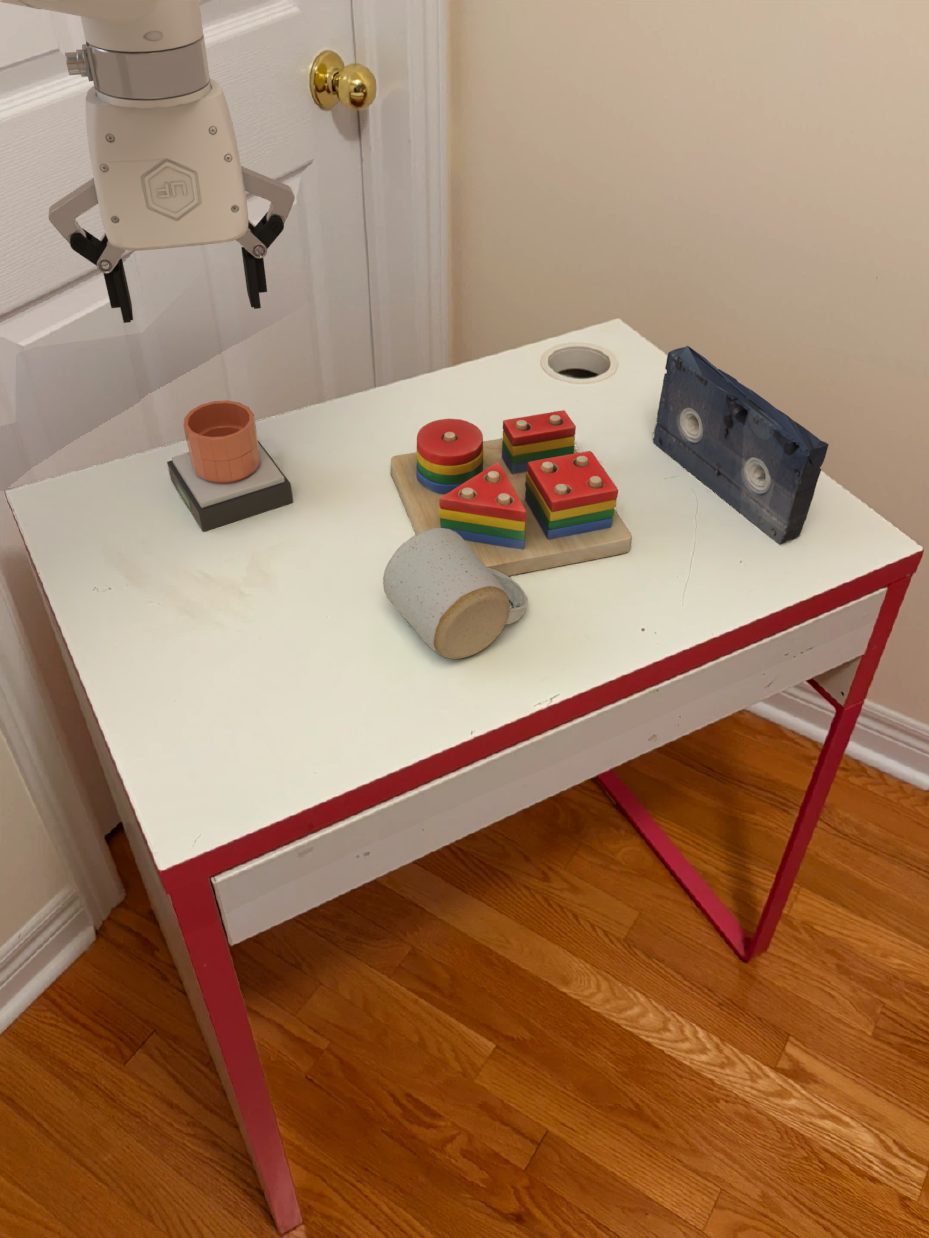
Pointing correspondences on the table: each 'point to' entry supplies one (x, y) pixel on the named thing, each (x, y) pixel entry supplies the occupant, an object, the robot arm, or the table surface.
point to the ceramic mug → (450, 593)
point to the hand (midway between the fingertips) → (191, 307)
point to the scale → (230, 492)
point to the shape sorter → (513, 493)
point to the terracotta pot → (222, 441)
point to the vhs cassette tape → (738, 444)
